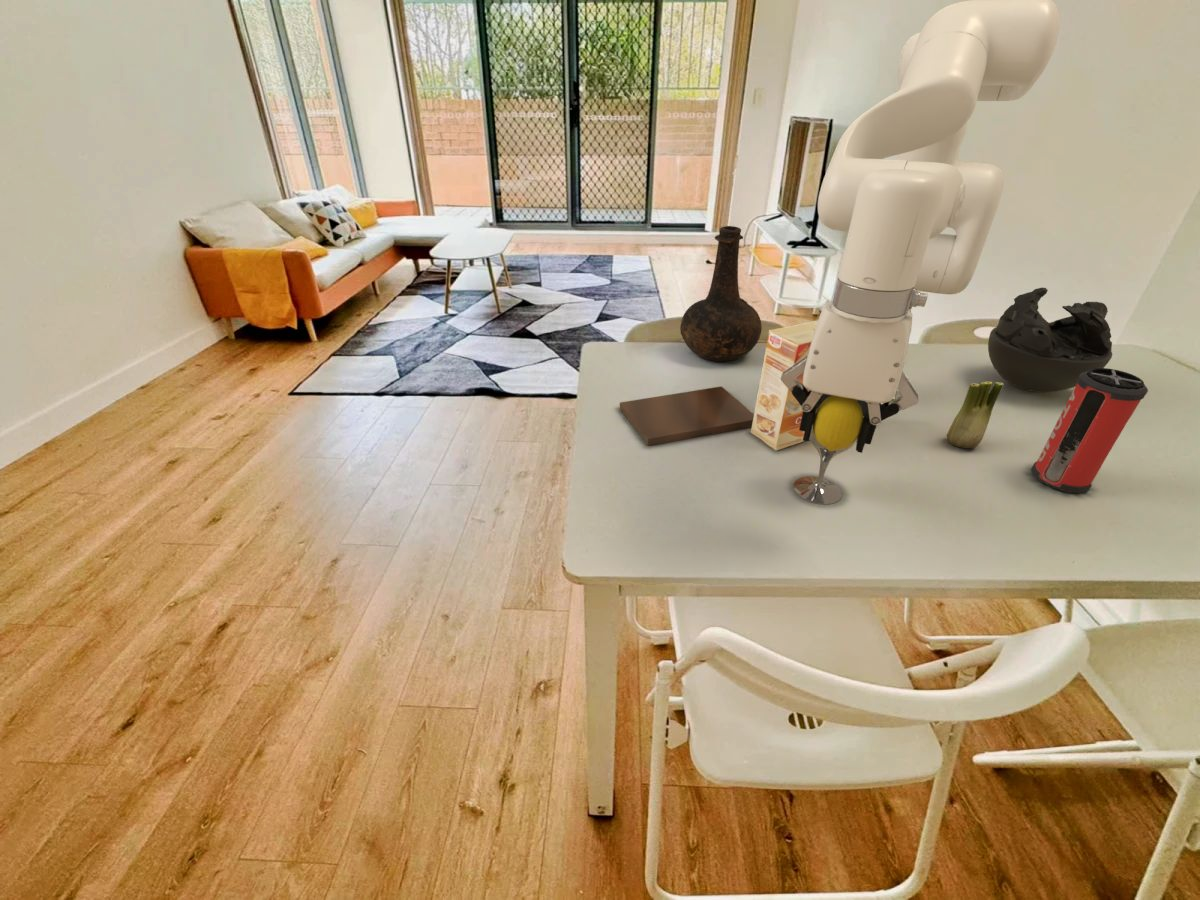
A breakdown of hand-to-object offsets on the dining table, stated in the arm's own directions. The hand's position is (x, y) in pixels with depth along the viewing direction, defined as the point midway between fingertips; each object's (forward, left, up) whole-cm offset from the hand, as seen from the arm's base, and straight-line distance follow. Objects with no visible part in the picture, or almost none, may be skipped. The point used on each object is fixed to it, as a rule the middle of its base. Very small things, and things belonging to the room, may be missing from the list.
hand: (832, 440), depth 70 cm
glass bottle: (-18, -60, -15) cm, 65 cm away
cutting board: (+2, -35, -15) cm, 38 cm away
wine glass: (-7, -8, -15) cm, 19 cm away
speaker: (-45, +2, -15) cm, 48 cm away
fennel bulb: (-39, -11, -15) cm, 44 cm away
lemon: (0, 0, -2) cm, 2 cm away
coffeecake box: (-14, -24, -15) cm, 32 cm away
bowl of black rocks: (-71, -24, -15) cm, 77 cm away
